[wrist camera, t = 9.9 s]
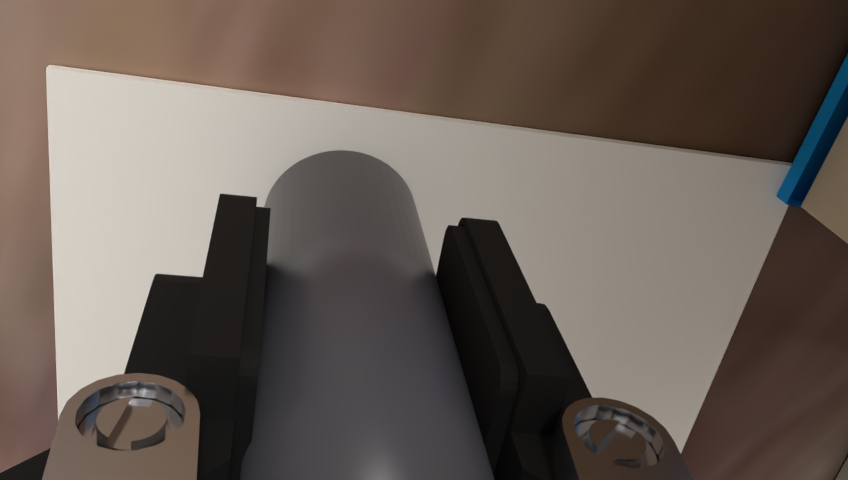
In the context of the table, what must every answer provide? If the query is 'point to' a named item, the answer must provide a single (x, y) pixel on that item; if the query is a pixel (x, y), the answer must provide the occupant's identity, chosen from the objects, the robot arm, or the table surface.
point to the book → (824, 163)
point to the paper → (437, 208)
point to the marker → (356, 337)
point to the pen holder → (843, 472)
